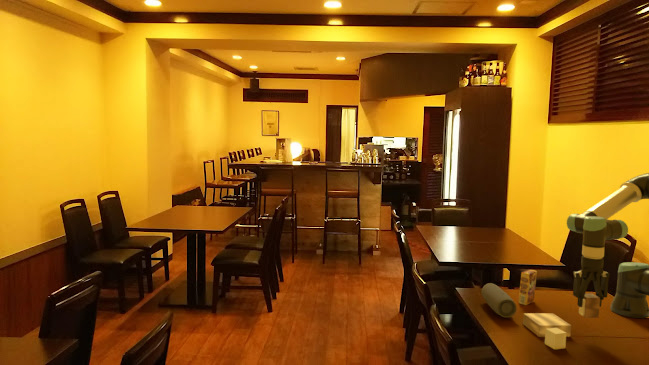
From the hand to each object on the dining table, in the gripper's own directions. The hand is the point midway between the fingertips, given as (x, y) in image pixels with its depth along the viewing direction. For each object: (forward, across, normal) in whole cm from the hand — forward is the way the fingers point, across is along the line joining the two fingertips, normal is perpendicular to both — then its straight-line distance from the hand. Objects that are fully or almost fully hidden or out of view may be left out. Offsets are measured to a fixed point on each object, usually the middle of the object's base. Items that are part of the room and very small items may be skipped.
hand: (588, 314), depth 189 cm
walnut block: (0, 0, 0) cm, 0 cm away
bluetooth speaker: (+10, +25, -29) cm, 39 cm away
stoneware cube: (+9, +17, +7) cm, 21 cm away
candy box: (+10, +6, -41) cm, 42 cm away
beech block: (+10, +13, -8) cm, 18 cm away
